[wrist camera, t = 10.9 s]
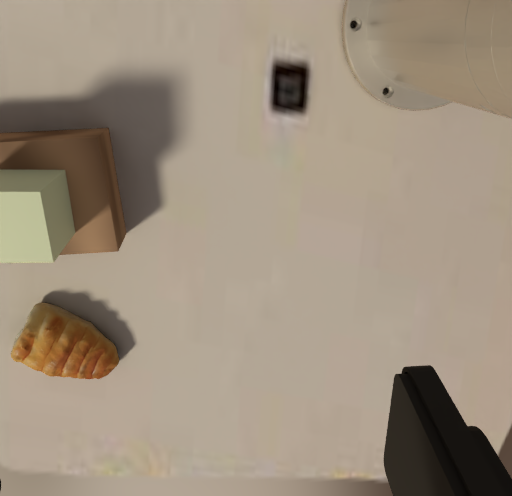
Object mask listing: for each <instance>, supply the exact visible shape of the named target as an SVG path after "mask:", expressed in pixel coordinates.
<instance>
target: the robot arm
mask: <svg viewBox="0 0 512 496" xmlns="http://www.w3.org/2000/svg"><path fill="white" fill-rule="evenodd" d="M352 21H355V23H356V26H355V27H354V28H353V29H352V28H351V27H350V23H351V22H352ZM342 39H343V48H344V51H345V55H346V58H347V62H348V65H349V67H350V69H351V70H352V72H353V74H354V76H355V78H356V79H357V81H358V82H359V83H360V84H361V86H362V87H363V88H364V89H365V90H366V91H367V92H368V93H370V94H371V95H372V96H373V97H374V98H376V99H378V100H380V101H382V102H383V103H385V104H387V105H390V106H393V107H396V108H399V109H405V110H412V111H416V110H429V109H433V108H437V107H441V106H444V105H446V104H448V103H451V102H456V103H459V104H463V105H466V106H470V107H473V108H477V109H480V110H483V111H487V112H490V113H494V114H497V115H500V116H504V117H507V118H511V119H512V0H346V1H345V5H344V9H343V18H342ZM384 88H387V93H386V94H383V93H382V92H383V89H384ZM384 467H385V472H386V476H387V479H388V482H389V484H390V488H391V491H392V493H393V496H512V479H511V477H510V475H509V474H508V472H507V470H506V469H505V467H504V466H503V464H502V462H501V461H500V459H499V457H498V456H497V454H496V452H495V451H494V449H493V447H492V446H491V444H490V442H489V441H488V439H487V437H486V436H485V435H484V433H483V432H482V431H481V430H480V429H479V428H478V427H475V426H467V425H466V423H465V422H464V420H463V418H462V416H461V415H460V413H459V411H458V410H457V408H456V406H455V404H454V403H453V401H452V399H451V397H450V396H449V394H448V392H447V390H446V389H445V387H444V385H443V383H442V382H441V380H440V378H439V376H438V375H437V373H436V371H435V370H434V368H433V367H432V366H430V365H429V366H411V367H404V368H403V370H402V374H396V375H395V377H394V383H393V391H392V398H391V406H390V413H389V421H388V429H387V436H386V444H385V451H384ZM0 490H1V481H0Z"/></svg>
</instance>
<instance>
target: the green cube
mask: <svg viewBox="0 0 512 496" xmlns="http://www.w3.org/2000/svg"><path fill="white" fill-rule="evenodd" d="M74 234H75V227H74V221H73V215H72V209H71V203H70V197H69V191H68V184H67V178H66V172H65V170H0V263H54V261H55V260H56V258H57V257H58V256H59V254H60V253H61V252H62V250H63V249H64V248H65V246H66V245H67V244H68V242H69V241H70V239H71V238H72V237H73V235H74Z"/></svg>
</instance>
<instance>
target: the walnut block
mask: <svg viewBox="0 0 512 496" xmlns="http://www.w3.org/2000/svg"><path fill="white" fill-rule="evenodd" d="M0 170H65V172H66V178H67V184H68V191H69V197H70V203H71V209H72V215H73V221H74V227H75V234H74V235H73V237H72V238H71V239H70V241H69V242H68V244H67V245H66V246H65V248H64V249H63V250H62V252H61V253H60V254H59V255H65V254H82V253H98V252H115V251H119V248H120V246H121V244H122V242H123V240H124V238H125V235H126V228H125V222H124V216H123V210H122V204H121V198H120V193H119V187H118V181H117V175H116V169H115V163H114V157H113V152H112V146H111V140H110V134H109V128H97V129H76V130H54V131H32V132H11V133H0Z"/></svg>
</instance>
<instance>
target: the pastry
mask: <svg viewBox="0 0 512 496" xmlns="http://www.w3.org/2000/svg"><path fill="white" fill-rule="evenodd" d="M11 357H12V358H13V360H14V361H16V362H22V363H23V364H25V365H27V366H28V367H30V368H32V369H34V370H37V371H41V372H43V373H45V374H46V375H48V376H61V377H73V378H79V379H82V378H85V379H93V378H97V379H100V378H102V377H104V376H106V375H108V374H109V373H110V372H111V371H112V370H113V369H114V368H115V367H116V366H117V365H118V363H119V357H118V353H117V349H116V346H115V345H114V344H113V343H112V342H111V341H110V340H109V339H107V338H105V337H104V335H103V334H102V333H101V332H99V331H98V330H97V329H96V328H95V326H94V325H93V324H92V323H91V322H90V321H85V320H83V319H82V318H80V317H78V316H76V315H74V314H72V313H70V312H69V311H67V310H65V309H63V308H60V307H58V306H55V305H51V304H49V303H38V304H36V305H35V306H34V307H33V309H32V311H31V312H30V314H29V316H28V318H27V323H26V325H25V327H24V329H22V330H21V331H20V332H19V333H18V335H17V338H16V339H15V342H14V346H13V350H12V351H11Z"/></svg>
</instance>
